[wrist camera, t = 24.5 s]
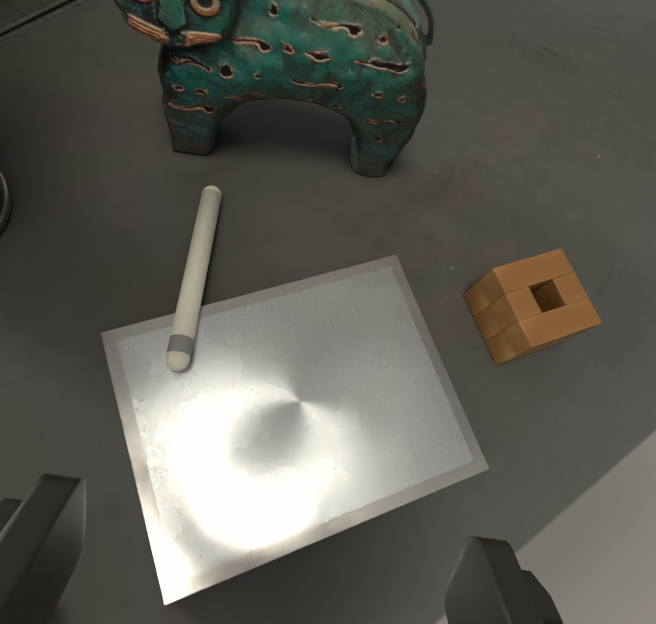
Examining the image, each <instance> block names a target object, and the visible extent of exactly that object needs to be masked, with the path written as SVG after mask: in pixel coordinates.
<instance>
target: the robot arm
mask: <svg viewBox="0 0 656 624" xmlns="http://www.w3.org/2000/svg"><path fill="white" fill-rule="evenodd" d="M11 207H12V195H11V190H10V187H9V185H8V182H7V181H6V179H5V177H4V176H3V175H2V173H1V172H0V233H1V231H2V230H3V228H4V227H5V225H6V223H7V221H8V219H9V216H10V212H11ZM86 488H87V486H86V480H85V479H80V478H73V477H66V476H59V475H52V474H43V475H42V476H41V477H40V478H39V479H38V480H37V482H36V483H35V485H34V486H33V487H32V489H31V490H30V492H29V493H28V494H27V496H26V497H25V499H24V500H17V499H10V498H5V499H3V500H2V501H1V502H0V624H47V623H48V621H49V619H50V617H51V615H52V613H53V611H54V609H55V607H56V605H57V603H58V601H59V599H60V597H61V595H62V593H63V591H64V589H65V587H66V585H67V583H68V581H69V579H70V577H71V575H72V573H73V571H74V569H75V567H76V565H77V562H78V560H79V557H80V554H81V551H82V547H83V543H84V538H85V523H86ZM445 609H446V615H447V620H448V623H449V624H563V621H562V619H561V617H560V615H559V613H558V611H557V609H556V607H555V604H554V602H553V600H552V598H551V596H550V595H549V593H548V592H547V591H546V589H545V588H544V587H543V586H542V585H541V583H540V582H539V581H538V580H537V579H536V577H535V576H534V575H533V574H532V573H531V571H525V570H521V568H520V566H519V564H518V561H517V558H516V556H515V554H514V551H513V549H512V547H511V546H510V544H509V543H508V542H506V541H503V540H496V539H489V538H482V537H475V536H471V537H469V538H468V540H467V541H466V543H465V545H464V548H463V550H462V552H461V554H460V556H459V558H458V561H457V563H456V565H455V567H454V569H453V571H452V574H451V576H450V578H449V580H448V583H447V586H446V592H445Z"/></svg>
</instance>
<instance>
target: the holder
mask: <svg viewBox="0 0 656 624" xmlns="http://www.w3.org/2000/svg"><path fill="white" fill-rule="evenodd" d="M573 272H574V270H573V268H572V267H571V265H570V263H569V261H568V259H567V257H566V256H565V254H564V252H563V250H562V249H557V250H554V251H551V252H547V253H544V254H540V255H537V256H533V257H530V258H527V259H523V260H520V261H516V262H513V263H509V264H506V265H503V266H499V267H496V268H493V269H492V270H491V271H489V272H488V273H487V274H486V275H485V276H484V277H483V278H482V279H481V280H479V281H478V282H477V283H476V284H475V285H474V286H473V287H472V288H471V289H469V290H468V291H467V292H466V293H465V294H464V298H465V300H466V302H467V304H468V306H469V308H470V310H471V313H472V315H473V317H474V319H475V321H476V323H477V325H478V327H479V329H480V331H481V334H482V336H483V338H484V340H485V341H486V342H485V343H486V345H487V347H488V349H489V351H490V353H491V355H492V357H493V360H494V362H495V364H496V365H500V364H503V363H506V362H508V361H511V360H514V359H517V358H520V357H522V356H525V355H528V354H531V353H534V352H537V351H539V350H542V349H545V348H548V347H551V346H553V345H556V344H559V343H561V342H563V341H565V340H568V339H570V338H572V337H574V336H576V335H578V334H580V333H582V332H584V331H586V330H588V329H590V328H593V327H595V326H597V325H599V324H601V323H602V322H601V320H600V318H599V316H598V314H597V312H596V311H595V309H594V307H593V305H592V303H591V301H590V300H589V298H588V296H587V295H586V293H585V291H584V289H583V287H582V285H581V283H580V282H579V280H578V278H577V276H576V274H575V273H573Z"/></svg>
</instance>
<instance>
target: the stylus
mask: <svg viewBox="0 0 656 624" xmlns="http://www.w3.org/2000/svg"><path fill="white" fill-rule="evenodd" d="M221 198H222V194H221V191H220V190H219V189H218V188H217V187H215V186H207V187H205V188H204V189H203V191H202V195H201V199H200V204H199V208H198V213H197V217H196V222H195V226H194V231H193V236H192V240H191V245H190V249H189V254H188V258H187V263H186V267H185V272H184V276H183V281H182V285H181V290H180V295H179V299H178V304H177V308H176V313H175V317H174V322H173V326H172V331H171V335H170V338H169V343H168V348H167V352H166V359H165V361H166V365H167V366H168V368H169V369H171V370H173V371H182V370H184V369H185V368H186V367H187V366H188V364H189V362H190V358H191V353H192V348H193V343H194V336H195V331H196V326H197V321H198V316H199V311H200V306H201V301H202V296H203V290H204V285H205V280H206V275H207V270H208V265H209V260H210V255H211V249H212V244H213V239H214V234H215V229H216V224H217V219H218V214H219V209H220V203H221Z"/></svg>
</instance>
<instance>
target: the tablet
mask: <svg viewBox="0 0 656 624" xmlns="http://www.w3.org/2000/svg"><path fill="white" fill-rule="evenodd" d="M174 317H175V313H173V314H169V315H166V316H162V317H158V318H154V319H151V320H147V321H143V322H139V323H136V324H132V325H128V326H124V327H120V328H117V329H113V330H109V331H105V332H102V333H101V337H102V341H103V345H104V350H105V354H106V358H107V363H108V367H109V371H110V375H111V380H112V384H113V388H114V393H115V397H116V401H117V405H118V410H119V414H120V418H121V423H122V427H123V431H124V435H125V440H126V444H127V448H128V452H129V457H130V461H131V465H132V470H133V474H134V478H135V482H136V487H137V491H138V495H139V500H140V504H141V508H142V512H143V517H144V521H145V525H146V530H147V534H148V538H149V542H150V547H151V551H152V555H153V560H154V564H155V568H156V572H157V577H158V581H159V585H160V589H161V594H162V598H163V602H164V606H166V605H168V604H171V603H173V602H175V601H178V600H180V599H182V598H185V597H187V596H190V595H192V594H194V593H197V592H199V591H201V590H204V589H206V588H209V587H211V586H213V585H216V584H218V583H220V582H223V581H225V580H228V579H230V578H232V577H235V576H237V575H239V574H242V573H244V572H246V571H249V570H251V569H254V568H256V567H258V566H261V565H263V564H265V563H268V562H270V561H273V560H275V559H277V558H280V557H282V556H284V555H287V554H289V553H292V552H294V551H296V550H299V549H301V548H303V547H306V546H308V545H311V544H313V543H315V542H318V541H320V540H322V539H325V538H327V537H330V536H332V535H334V534H337V533H339V532H341V531H344V530H346V529H349V528H351V527H353V526H356V525H358V524H360V523H363V522H365V521H367V520H370V519H372V518H375V517H377V516H379V515H382V514H384V513H386V512H389V511H391V510H394V509H396V508H398V507H401V506H403V505H405V504H408V503H410V502H413V501H415V500H417V499H420V498H422V497H424V496H427V495H429V494H432V493H434V492H436V491H439V490H441V489H443V488H446V487H448V486H451V485H453V484H455V483H458V482H460V481H462V480H465V479H467V478H470V477H472V476H474V475H477V474H479V473H481V472H484V471H486V470H488V469H489V467H488V464H487V462H486V460H485V457H484V455H483V453H482V451H481V448H480V446H479V444H478V441H477V439H476V437H475V435H474V432H473V430H472V428H471V425H470V423H469V421H468V418H467V416H466V414H465V412H464V409H463V407H462V405H461V402H460V400H459V398H458V396H457V393H456V391H455V389H454V386H453V384H452V382H451V379H450V377H449V375H448V373H447V370H446V368H445V366H444V363H443V361H442V359H441V357H440V354H439V352H438V350H437V347H436V345H435V343H434V340H433V338H432V336H431V334H430V331H429V329H428V327H427V324H426V322H425V320H424V318H423V315H422V313H421V311H420V308H419V306H418V304H417V301H416V299H415V297H414V295H413V292H412V290H411V288H410V285H409V283H408V281H407V279H406V276H405V274H404V272H403V269H402V267H401V265H400V262H399V260H398V258H397V256H396V255H392V256H388V257H384V258H380V259H377V260H373V261H369V262H365V263H362V264H358V265H354V266H350V267H347V268H343V269H339V270H335V271H331V272H328V273H324V274H320V275H316V276H313V277H309V278H305V279H301V280H298V281H294V282H290V283H286V284H282V285H279V286H275V287H271V288H267V289H264V290H260V291H256V292H252V293H249V294H245V295H241V296H237V297H234V298H230V299H226V300H222V301H218V302H215V303H211V304H207V305H203V306H200V311H199V316H198V321H197V326H196V331H195V336H194V343H193V348H192V353H191V358H190V362H189V364H188V366H187V367H186V368H185V369H184V370H182V371H173V370H171V369H169V368H168V366H167V365H166V361H165V359H166V352H167V348H168V343H169V338H170V335H171V331H172V326H173V322H174Z"/></svg>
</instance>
